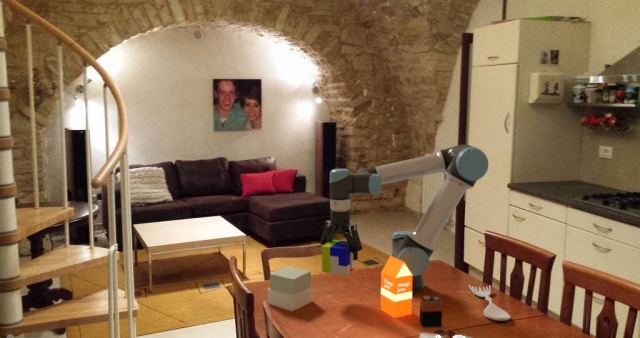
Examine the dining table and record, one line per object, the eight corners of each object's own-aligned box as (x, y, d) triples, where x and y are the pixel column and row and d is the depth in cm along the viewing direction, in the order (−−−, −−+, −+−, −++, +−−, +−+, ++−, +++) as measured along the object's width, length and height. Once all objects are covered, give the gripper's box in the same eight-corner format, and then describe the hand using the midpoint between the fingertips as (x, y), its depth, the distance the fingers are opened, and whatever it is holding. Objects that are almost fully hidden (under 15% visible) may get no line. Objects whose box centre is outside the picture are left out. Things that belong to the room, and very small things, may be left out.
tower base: (312, 302, 208) (312, 287, 207) (291, 311, 198) (291, 296, 198) (288, 295, 215) (288, 280, 214) (267, 304, 206) (267, 288, 205)
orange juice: (394, 318, 193) (395, 263, 190) (380, 309, 200) (381, 256, 198) (412, 314, 196) (413, 260, 193) (397, 305, 204) (398, 253, 201)
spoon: (490, 292, 219) (490, 283, 218) (514, 325, 187) (514, 316, 186) (467, 291, 219) (467, 283, 219) (487, 325, 187) (488, 315, 187)
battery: (419, 322, 189) (419, 294, 188) (438, 321, 190) (439, 294, 188) (422, 327, 185) (423, 299, 183) (442, 327, 185) (442, 298, 184)
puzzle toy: (346, 275, 202) (346, 248, 200) (322, 272, 206) (321, 246, 204) (356, 267, 211) (355, 242, 209) (332, 264, 215) (332, 239, 213)
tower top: (310, 286, 208) (310, 271, 207) (293, 295, 199) (293, 279, 198) (287, 280, 214) (287, 266, 213) (270, 289, 205) (269, 273, 204)
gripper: (309, 207, 211) (311, 262, 214) (360, 215, 196) (360, 273, 199) (321, 204, 217) (322, 257, 220) (371, 211, 202) (372, 268, 205)
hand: (340, 265), depth 209 cm, fingers closed on puzzle toy, 11 cm apart
